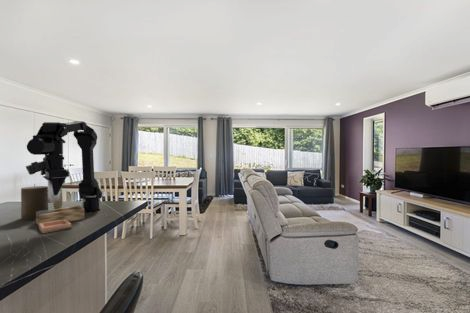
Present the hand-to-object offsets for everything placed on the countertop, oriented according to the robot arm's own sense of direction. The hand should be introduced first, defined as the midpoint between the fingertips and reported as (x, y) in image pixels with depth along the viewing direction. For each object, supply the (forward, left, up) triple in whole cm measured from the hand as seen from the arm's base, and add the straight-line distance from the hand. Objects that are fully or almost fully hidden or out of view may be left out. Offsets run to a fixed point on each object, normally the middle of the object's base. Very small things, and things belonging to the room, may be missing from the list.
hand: (54, 194), depth 99 cm
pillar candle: (+3, -26, -14) cm, 29 cm away
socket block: (-4, -11, -13) cm, 18 cm away
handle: (-7, -34, -13) cm, 37 cm away
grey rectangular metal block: (+1, -11, -11) cm, 15 cm away
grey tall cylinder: (0, 0, -3) cm, 3 cm away
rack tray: (0, 0, -13) cm, 13 cm away
